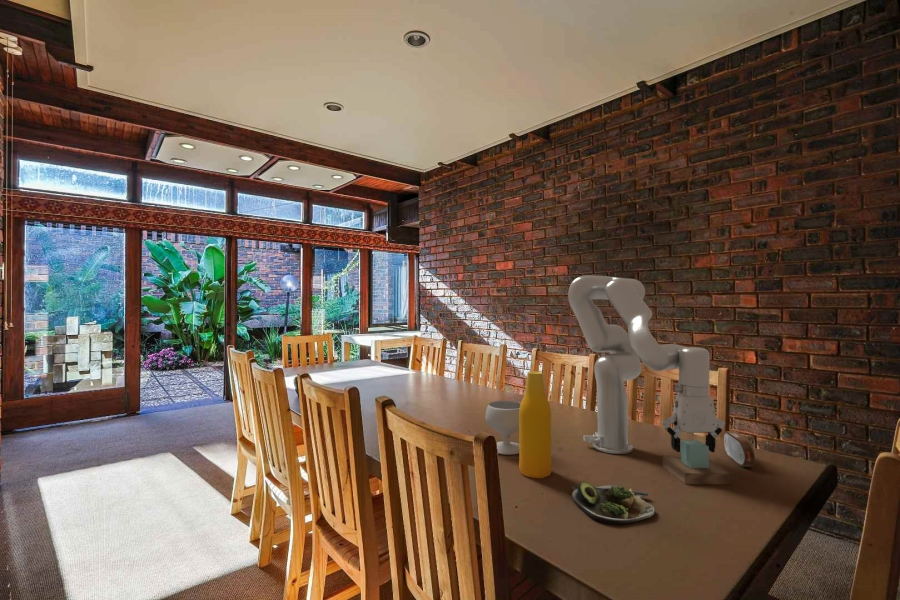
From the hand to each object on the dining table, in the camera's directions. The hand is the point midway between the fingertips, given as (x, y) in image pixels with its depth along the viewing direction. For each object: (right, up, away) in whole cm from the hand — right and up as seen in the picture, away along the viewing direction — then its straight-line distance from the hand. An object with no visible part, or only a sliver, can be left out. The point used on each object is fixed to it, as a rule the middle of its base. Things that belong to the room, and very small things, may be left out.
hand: (693, 450), depth 120 cm
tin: (+19, -7, +9) cm, 23 cm away
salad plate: (-31, -8, -18) cm, 37 cm away
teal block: (0, -4, 0) cm, 4 cm away
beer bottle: (-45, -7, +2) cm, 45 cm away
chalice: (-51, -7, +21) cm, 55 cm away
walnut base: (0, -7, 0) cm, 7 cm away
